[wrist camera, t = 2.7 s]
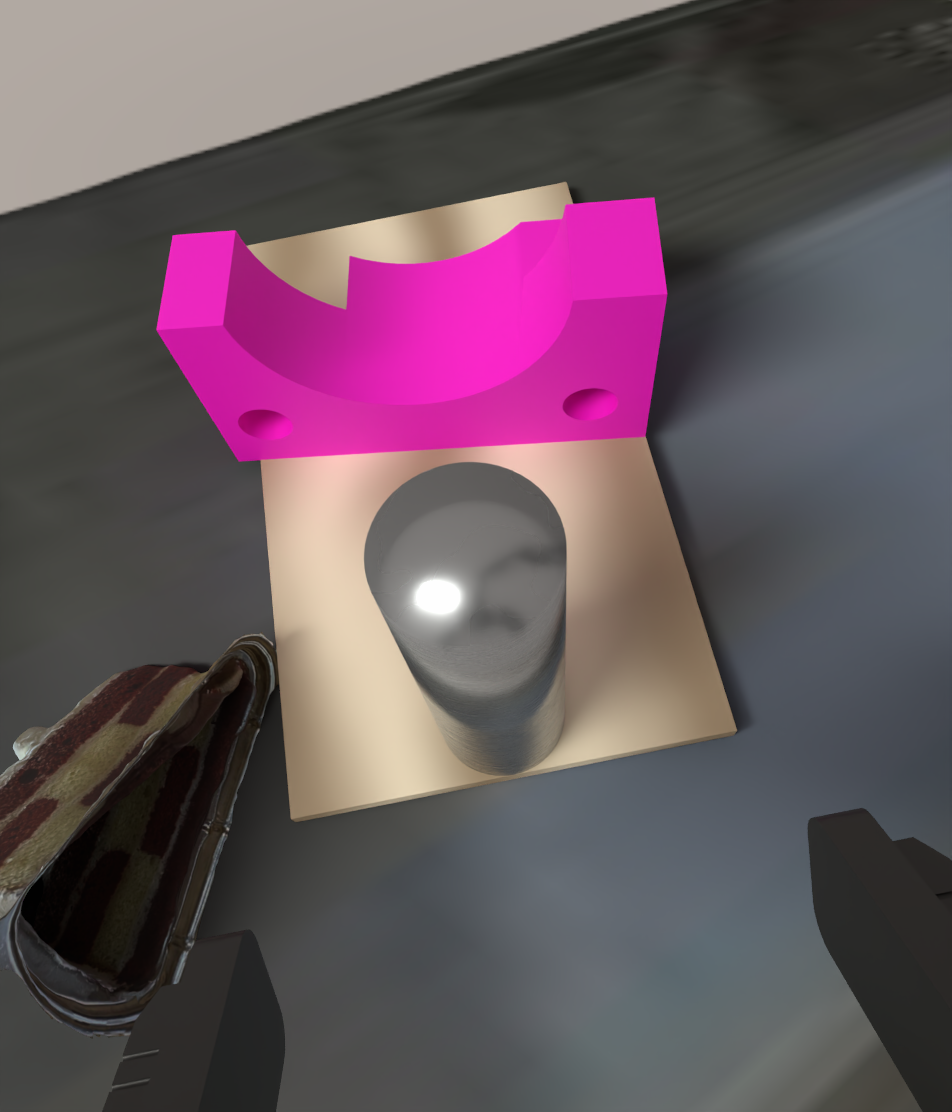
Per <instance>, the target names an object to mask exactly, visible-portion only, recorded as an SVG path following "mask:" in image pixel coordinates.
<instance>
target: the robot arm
mask: <svg viewBox="0 0 952 1112" xmlns="http://www.w3.org/2000/svg"><path fill="white" fill-rule="evenodd" d="M808 841H809V854H810V866H811V879H812V892H813V904H814V910H815V915H816V919H817V923H818V926H819V929H820V932H821V935H822V938H823V940H824V943H825V945H826V947H827V949H828V951H829V953H830V955H831V956H832V958H833V960H834V961H835V963H836V965H837V966H838V968H839V970H840V972H841V973H842V975H843V977H844V978H845V980H846V982H847V984H848V985H849V987H850V989H851V990H852V992H853V994H854V995H855V997H856V999H857V1001H858V1002H859V1004H860V1006H861V1007H862V1009H863V1011H864V1012H865V1014H866V1016H867V1018H868V1019H869V1021H870V1023H871V1024H872V1026H873V1028H874V1029H875V1031H876V1033H877V1035H878V1036H879V1038H880V1040H881V1041H882V1043H883V1045H884V1046H885V1048H886V1050H887V1052H888V1053H889V1055H890V1057H891V1058H892V1060H893V1062H894V1063H895V1065H896V1067H897V1069H898V1070H899V1072H900V1074H901V1075H902V1077H903V1079H904V1080H905V1082H906V1084H907V1086H908V1087H909V1089H910V1091H911V1092H912V1094H913V1096H914V1097H915V1099H916V1101H917V1103H918V1104H919V1106H920V1108H921V1109H922V1111H923V1112H952V861H951V860H950V859H949V858H947V857H946V856H944V855H942V854H941V853H939V852H937V851H936V850H934V849H932V848H931V847H929V846H927V845H926V844H924V843H922V842H920V841H919V840H917V839H915V838H914V837H912V838H907V839H902V840H897V841H892V840H891V839H890V838H889V836H888V835H887V834H886V833H885V831H884V830H883V829H882V828H881V826H880V825H879V824H878V823H877V821H876V820H875V819H874V818H873V816H872V815H871V814H870V813H869V812H868V811H867V810H866V809H863V808H859V809H854V810H849V811H844V812H839V813H834V814H829V815H824V816H819V817H814V818H811V819H810V820H809V822H808ZM284 1057H285V1033H284V1024H283V1018H282V1013H281V1010H280V1006H279V1004H278V1001H277V998H276V995H275V992H274V989H273V986H272V983H271V980H270V977H269V974H268V972H267V969H266V966H265V963H264V960H263V957H262V954H261V951H260V948H259V945H258V942H257V940H256V937H255V936H254V934H253V932H252V931H250V930H244V931H239V932H234V933H229V934H224V935H219V936H214V937H209V938H204V939H199V940H197V941H196V942H195V943H194V944H193V946H192V949H191V952H190V955H189V958H188V961H187V964H186V967H185V970H184V974H183V977H182V980H181V983H177V984H172V985H167V986H162V987H161V988H160V989H159V990H158V991H157V993H156V994H155V995H154V997H153V998H152V999H151V1001H150V1002H149V1003H148V1004H147V1006H146V1007H145V1008H144V1010H143V1011H142V1012H141V1014H140V1015H139V1016H138V1017H137V1019H136V1020H135V1023H134V1026H133V1028H132V1031H131V1034H130V1037H129V1039H128V1042H127V1045H126V1048H125V1050H124V1053H123V1062H120V1064H119V1067H118V1070H117V1072H116V1075H115V1078H114V1081H113V1084H112V1087H113V1090H112V1092H109V1095H108V1097H107V1100H106V1103H105V1106H104V1108H103V1111H102V1112H276V1107H277V1101H278V1095H279V1089H280V1083H281V1076H282V1070H283V1064H284Z"/></svg>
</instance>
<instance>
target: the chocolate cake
mask: <svg viewBox="0 0 952 1112" xmlns="http://www.w3.org/2000/svg"><path fill="white" fill-rule="evenodd" d="M278 684H279V673H278V661H277V650H275V649H274V648H273V643H272V642H271V641H269V640H268V639H266V637H265V636H264V634H263V633H262V632H261V633H260V634H259V635H256V634H252V635H251V634H248V635H243V636H242V637H240V638H239V639H237V638H236V639H235V641H234V642H233V643H232V644H231V645H230V647H229V648H228V649H227V650H226V651H225V652H224V653H223V655H222V656H221V657H220V658H219V659H218V660H217V661H216V662H215V663H214V664H213V665H212V666H211V668H210V669H209V671H207V672H205V673H199V672H197V671H196V670H195V669H193V668H190V667H178V666H174V665H169V666H168V667H157V666H150V665H145V666H142V667H139V668H135V669H132V670H129V671H125V672H119V673H116V674H114V675H113V676H112V677H111V678H109V679H107V680H106V681H105V682H103V683H102V684H101V685H100V686H98V687H97V688H96V689H94V690H93V691H92V692H91V693H90V694H88V695H87V696H86V697H85V698H83V699H82V700H81V701H80V702H79V703H78V704H77V706H76V707H75V708H74V709H73V710H72V711H71V712H70V713H69V714H68V715H67V716H65V717H64V718H62V719H61V720H60V721H59V722H58V723H57V724H55V725H54V726H52V727H50V728H44V727H41V726H40V727H32V728H29V729H28V730H26V731H25V732H24V733H23V734H21V735H20V736H19V737H18V738H17V740H16V741H15V743H14V745H13V748H14V751H15V753H16V755H17V756H18V758H19V761H18V762H16V763H15V764H14V765H12V766H10V767H9V768H8V769H7V770H6V771H5V772H4V773H3V774H2V775H1V776H0V969H1V971H2V970H3V968H4V969H5V970H12V971H13V972H15V973H17V974H18V976H19V977H20V978H21V979H22V980H23V981H24V983H25V984H26V986H27V987H28V991H30V994H31V996H33V997H34V998H35V1000H36V1001H37V1003H38V1004H39V1005H40V1006H41V1008H42V1009H43V1010H44V1009H45V1012H46V1013H47V1014H48V1015H49V1016H50V1018H51V1019H53V1018H54V1019H56V1020H57V1021H58V1022H59V1023H61V1024H63V1023H65V1025H67V1026H69V1027H71V1028H73V1029H74V1030H76V1031H78V1032H80V1033H81V1034H83V1035H86V1036H88V1037H90V1038H92V1039H93V1034H94V1033H95V1034H96V1036H98V1037H100V1034H101V1035H106V1036H108V1038H109V1037H115V1036H130V1034H131V1031H132V1028H133V1026H134V1023H135V1020H136V1019H137V1017H138V1016H139V1015H140V1014H141V1012H142V1011H143V1010H144V1008H145V1007H146V1006H147V1004H148V1003H149V1002H150V1001H151V999H152V998H153V997H154V995H155V994H156V993H157V991H158V990H159V989H160V988H161V987H162V986H167V985H172V984H177V983H181V980H182V977H183V974H184V970H185V967H186V964H187V961H188V958H189V955H190V952H191V949H192V946H193V944H194V943H195V942H196V937H197V932H198V929H199V925H200V921H201V918H202V914H203V911H204V908H205V904H206V901H207V899H208V896H209V893H210V889H211V886H212V883H213V879H214V873H215V867H216V864H217V862H218V859H219V855H220V853H221V851H222V848H223V844H224V842H225V840H226V839H227V837H228V832H229V829H230V826H231V824H232V815H233V806H234V803H235V801H236V799H237V790H238V788H239V786H240V783H241V782H242V780H243V777H244V774H245V771H246V769H247V764H248V760H249V756H250V754H251V751H252V748H253V744H254V742H255V738H256V736H257V734H258V732H259V731H260V729H261V728H260V725H261V721H262V718H263V716H264V711H265V707H266V703H267V701H268V699H269V695H270V694H271V692H272V691H273V690H274V688H275V687H276V686H277V685H278ZM39 878H42V880H43V884H44V892H43V895H42V899H41V901H40V904H39V906H38V909H37V914H36V918H35V922H34V925H33V927H32V926H31V925H30V924H29V923H28V922H26V921H25V920H24V918H23V916H22V915H21V907H22V902H23V899H24V897H25V896H26V894H27V892H28V891H29V889H30V888H31V887H32V886H33V884H34V883H35V882H36V881H37V880H38V879H39ZM62 1022H63V1023H62Z"/></svg>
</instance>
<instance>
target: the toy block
mask: <svg viewBox="0 0 952 1112" xmlns="http://www.w3.org/2000/svg"><path fill="white" fill-rule="evenodd" d="M666 299H667V288H666V281H665V273H664V266H663V259H662V251H661V244H660V237H659V229H658V222H657V215H656V208H655V200H654V198H643V199H630V200H618V201H605V202H592V203H579V204H566V205H565V209H564V214H563V218H562V219H553V220H540V221H527V222H520V223H519V224H518V225H517V226H515V227H514V228H513V229H512V230H511V231H509V232H508V233H506V234H505V235H503V236H502V237H500V238H499V239H497V240H495V241H494V242H492V243H490V244H488V245H486V246H484V247H482V248H480V249H477V250H475V251H473V252H470V253H467V254H464V255H461V256H458V257H454V258H450V259H446V260H441V261H435V262H428V263H415V264H396V263H384V262H377V261H371V260H365V259H361V258H357V257H353V256H349V273H348V290H347V306H346V309H342V308H339V307H336V306H333V305H330V304H328V303H325V302H322V301H320V300H317V299H315V298H313V297H311V296H309V295H307V294H305V293H303V292H301V291H299V290H298V289H296V288H294V287H292V286H291V285H289V284H288V283H286V282H285V281H283V280H282V279H280V278H279V277H278V276H276V275H275V274H274V273H273V272H271V271H270V270H269V269H268V268H267V267H265V266H264V265H263V264H262V263H261V262H260V261H259V260H258V259H257V258H256V257H255V256H254V255H253V253H252V252H251V251H250V250H249V249H248V247H247V246H246V245H245V244H244V242H243V241H242V239H241V238H240V236H239V235H238V233H237V232H236V230H235V231H222V232H209V233H196V234H184V235H173V238H172V244H171V249H170V255H169V261H168V267H167V273H166V278H165V284H164V290H163V296H162V301H161V307H160V313H159V319H158V325H157V332H158V333H159V335H160V336H161V338H162V340H163V341H164V343H165V344H166V346H167V348H168V349H169V351H170V352H171V354H172V356H173V357H174V359H175V360H176V362H177V364H178V365H179V367H180V368H181V370H182V372H183V373H184V375H185V376H186V378H187V380H188V381H189V383H190V384H191V386H192V388H193V389H194V391H195V392H196V394H197V396H198V397H199V399H200V400H201V402H202V404H203V405H204V407H205V408H206V410H207V411H208V413H209V415H210V416H211V418H212V419H213V421H214V423H215V424H216V426H217V427H218V429H219V431H220V432H221V434H222V435H223V437H224V439H225V440H226V442H227V443H228V445H229V447H230V448H231V450H232V451H233V453H234V455H235V456H236V458H237V459H238V461H254V460H267V459H284V458H301V457H317V456H334V455H351V454H368V453H384V452H401V451H418V450H435V449H451V448H468V447H485V446H502V445H518V444H535V443H552V442H569V441H585V440H602V439H619V438H636V437H645V435H646V429H647V422H648V416H649V409H650V403H651V396H652V390H653V383H654V377H655V370H656V364H657V358H658V351H659V345H660V338H661V332H662V325H663V319H664V312H665V306H666Z"/></svg>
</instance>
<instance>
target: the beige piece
mask: <svg viewBox="0 0 952 1112" xmlns="http://www.w3.org/2000/svg"><path fill="white" fill-rule="evenodd" d="M566 204H573V202H572V199H571V195H570V192H569V189H568V186H567V183H566V182H563V183H558V184H553V185H548V186H543V187H538V188H533V189H528V190H523V191H518V192H513V193H508V194H503V195H498V196H493V197H488V198H484V199H479V200H474V201H469V202H464V203H459V204H454V205H449V206H444V207H439V208H434V209H429V210H424V211H419V212H414V213H409V214H404V215H399V216H394V217H389V218H384V219H379V220H374V221H369V222H364V223H359V224H354V225H349V226H344V227H339V228H334V229H329V230H324V231H319V232H314V233H309V234H304V235H299V236H294V237H289V238H284V239H279V240H274V241H269V242H264V243H259V244H254V245H249V246H247V247H248V249H249V250H250V251H251V252H252V253H253V255H254V256H255V257H256V258H257V259H258V260H259V261H260V262H261V263H262V264H263V265H264V266H265V267H267V268H268V269H269V270H270V271H271V272H273V273H274V274H275V275H276V276H278V277H279V278H280V279H282V280H283V281H285V282H286V283H288V284H289V285H291V286H292V287H294V288H296V289H298V290H299V291H301V292H303V293H305V294H307V295H309V296H311V297H313V298H315V299H317V300H320V301H322V302H325V303H328V304H330V305H333V306H336V307H339V308H342V309H346V306H347V290H348V273H349V256H353V257H357V258H361V259H365V260H371V261H377V262H384V263H396V264H415V263H428V262H435V261H441V260H446V259H450V258H454V257H458V256H461V255H464V254H467V253H470V252H473V251H475V250H477V249H480V248H482V247H484V246H486V245H488V244H490V243H492V242H494V241H495V240H497V239H499V238H500V237H502V236H503V235H505V234H506V233H508V232H509V231H511V230H512V229H513V228H514V227H515V226H517V225H518V224H519V223H520V222H527V221H540V220H553V219H562V218H563V214H564V209H565V205H566ZM261 471H262V483H263V495H264V507H265V519H266V531H267V542H268V554H269V566H270V578H271V590H272V602H273V613H274V625H275V637H276V649H277V661H278V673H279V685H280V696H281V708H282V720H283V732H284V744H285V756H286V767H287V779H288V791H289V803H290V815H291V820H293V821H295V822H300V821H305V820H310V819H315V818H320V817H325V816H330V815H335V814H340V813H345V812H350V811H355V810H360V809H365V808H370V807H375V806H380V805H385V804H390V803H395V802H400V801H405V800H410V799H415V798H421V797H426V796H431V795H436V794H441V793H446V792H451V791H456V790H461V789H466V788H471V787H476V786H481V785H486V784H491V783H496V782H501V781H506V780H511V779H516V778H521V777H526V776H531V775H536V774H541V773H546V772H551V771H556V770H561V769H566V768H572V767H577V766H582V765H587V764H592V763H597V762H602V761H607V760H612V759H617V758H622V757H627V756H632V755H637V754H642V753H647V752H652V751H657V750H662V749H667V748H672V747H677V746H682V745H687V744H692V743H697V742H702V741H707V740H712V739H718V738H723V737H728V736H733V735H734V734H735V733H736V731H737V728H736V725H735V722H734V719H733V716H732V712H731V709H730V706H729V703H728V700H727V696H726V693H725V690H724V687H723V683H722V680H721V677H720V674H719V671H718V667H717V664H716V661H715V658H714V655H713V651H712V648H711V645H710V642H709V639H708V635H707V632H706V629H705V626H704V622H703V619H702V616H701V613H700V610H699V606H698V603H697V600H696V597H695V594H694V590H693V587H692V584H691V581H690V578H689V574H688V571H687V568H686V565H685V561H684V558H683V555H682V552H681V549H680V545H679V542H678V539H677V536H676V533H675V529H674V526H673V523H672V520H671V517H670V513H669V510H668V507H667V504H666V500H665V497H664V494H663V491H662V488H661V484H660V481H659V478H658V475H657V472H656V468H655V465H654V462H653V459H652V456H651V452H650V449H649V446H648V443H647V439H646V436H645V437H636V438H619V439H602V440H585V441H569V442H552V443H535V444H518V445H502V446H485V447H468V448H451V449H435V450H418V451H401V452H384V453H368V454H351V455H334V456H317V457H301V458H284V459H267V460H261Z"/></svg>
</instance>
